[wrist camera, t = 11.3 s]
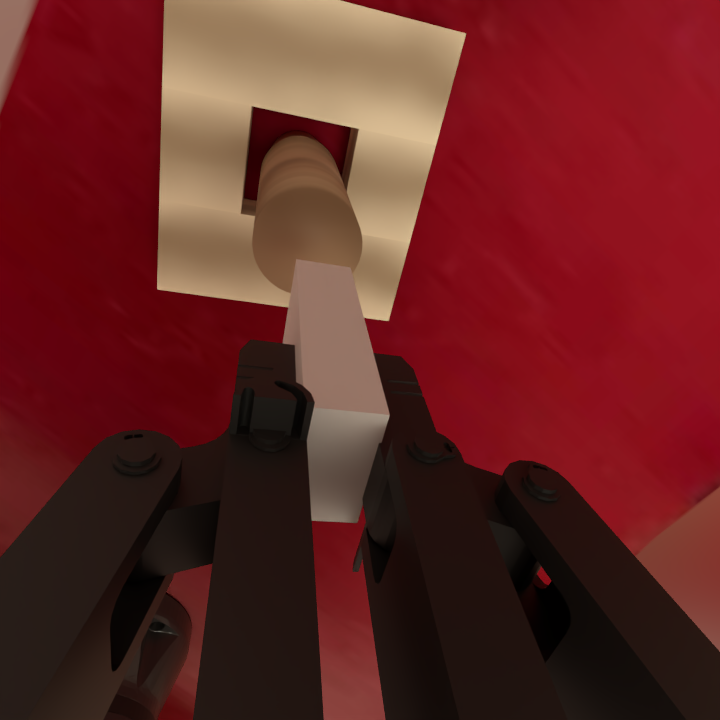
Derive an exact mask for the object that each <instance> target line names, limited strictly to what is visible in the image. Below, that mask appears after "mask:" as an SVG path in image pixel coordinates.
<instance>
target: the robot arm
mask: <svg viewBox="0 0 720 720" xmlns="http://www.w3.org/2000/svg"><path fill="white" fill-rule="evenodd" d="M362 505H363V506H364V512H365V518H366V524H365V527H364V530H363V533H362V537H361V540H360V543H359V546H358V549H357V552H356V556H355V559H354V563H353V572H358V571H359V568H360V565H361V561H362V559H363V564H364V571H365V578H366V585H367V592H368V599H369V606H370V613H371V620H372V627H373V634H374V641H375V648H376V655H377V662H378V669H379V676H380V683H381V690H382V697H383V704H384V711H385V718H386V720H720V652H719V650H718V649H717V648H716V647H715V646H714V645H713V644H712V643H711V641H710V640H709V639H708V638H707V637H706V636H705V635H704V634H703V633H702V631H701V630H700V629H699V628H698V627H697V626H696V625H695V623H694V622H693V621H692V620H691V619H690V618H689V617H688V616H687V614H686V613H685V612H684V611H683V610H682V609H681V608H680V607H679V605H678V604H677V603H676V602H675V601H674V600H673V599H672V598H671V596H670V595H669V594H668V593H667V592H666V591H665V590H664V589H663V587H662V586H661V585H660V584H659V583H658V582H657V581H656V580H655V578H653V576H652V575H651V574H650V573H649V572H648V571H647V569H646V568H645V567H644V566H643V565H642V564H641V563H640V562H639V560H637V558H636V557H635V556H634V555H633V554H632V553H631V551H630V550H629V549H628V548H627V547H626V546H625V545H624V544H623V542H622V541H621V540H620V539H619V538H618V537H617V536H616V535H615V533H614V532H613V531H612V530H611V529H610V528H609V527H608V526H607V524H606V523H605V522H604V521H603V520H602V519H601V518H600V517H599V515H598V514H597V513H596V512H595V511H594V510H593V509H592V508H591V506H590V505H589V504H588V503H587V502H586V501H585V500H584V499H583V497H582V496H581V495H580V494H579V493H578V492H577V491H576V490H575V488H574V487H573V486H572V485H571V484H570V483H569V482H568V481H567V480H566V479H565V478H564V477H562V476H561V475H560V474H559V473H558V472H556V471H554V470H553V469H551V468H549V467H547V466H545V465H543V464H539V463H536V462H533V461H522V460H519V461H516V462H513V463H510V464H509V466H508V467H507V468H506V469H505V471H504V473H503V475H502V476H501V475H498V474H495V473H492V472H489V471H486V470H483V469H479V468H476V467H474V466H471V465H469V464H466V463H464V460H463V458H462V455H461V453H460V452H459V450H458V448H457V447H456V445H455V444H454V443H453V442H451V441H450V440H449V439H448V438H446V437H445V436H444V435H441V434H439V433H437V432H436V429H435V427H434V424H433V421H432V419H431V416H430V413H429V410H428V408H427V405H426V402H425V399H424V397H422V391H421V389H420V386H418V380H417V378H416V375H415V372H414V370H413V368H412V367H411V366H410V365H409V364H408V363H407V362H406V361H405V360H404V359H403V358H402V357H401V356H392V355H384V354H376V353H373V350H372V346H371V343H370V339H369V335H368V331H367V328H366V324H365V320H364V316H363V313H362V309H361V305H360V301H359V298H358V294H357V290H356V286H355V283H354V279H353V275H352V271H351V268H350V267H344V266H337V265H331V264H324V263H318V262H312V261H305V260H299V259H296V264H295V270H294V276H293V282H292V289H291V295H290V301H289V307H288V313H287V319H286V325H285V332H284V338H283V343H274V342H266V341H258V340H250V341H249V342H248V343H247V344H246V345H245V346H244V347H243V348H242V349H241V350H240V354H239V362H238V369H237V377H236V385H235V392H234V394H233V402H232V411H231V420H230V424H229V427H228V429H227V430H226V431H225V432H224V434H222V435H221V436H220V437H218V438H217V439H215V440H213V441H211V442H208V443H206V444H203V445H198V446H194V447H187V448H181V449H180V447H179V445H178V444H177V443H175V442H174V441H173V440H172V439H171V438H170V437H168V436H166V435H163V434H161V433H158V432H156V431H147V430H132V431H124V432H120V433H118V434H115V435H112V436H110V437H107V438H105V439H104V440H103V441H102V442H100V443H99V444H98V445H97V446H95V447H94V448H93V449H92V451H91V452H90V453H89V454H88V455H87V457H86V458H85V459H84V460H83V461H82V462H81V464H80V465H79V466H78V467H77V468H76V469H75V471H74V472H73V473H72V474H71V475H70V476H69V478H68V479H67V480H66V481H65V482H64V484H63V485H62V486H61V487H60V488H59V489H58V491H57V492H56V493H55V494H54V495H53V496H52V498H51V499H50V500H49V501H48V502H47V503H46V505H45V506H44V507H43V508H42V509H41V511H40V512H39V513H38V514H37V515H36V516H35V518H34V519H33V520H32V521H31V522H30V523H29V525H28V526H27V527H26V528H25V529H24V531H23V532H22V533H21V534H20V535H19V536H18V538H17V539H16V540H15V541H14V542H13V543H12V545H11V546H10V547H9V548H8V549H7V550H6V552H5V553H4V554H3V555H2V556H1V558H0V720H157V719H158V716H159V714H160V712H161V710H162V708H163V706H164V703H165V701H166V699H167V697H168V695H169V693H170V691H171V689H172V687H173V685H174V683H175V681H176V679H177V677H178V675H179V673H180V671H181V669H182V667H183V665H184V662H185V660H186V657H187V654H188V650H189V644H190V637H191V629H192V627H191V621H190V618H189V616H188V614H187V612H186V611H185V609H184V608H183V607H182V606H181V605H180V604H179V603H178V602H177V601H175V600H174V599H173V598H171V597H170V596H168V595H166V594H165V593H166V591H167V589H168V587H169V585H170V583H171V581H172V579H173V575H174V573H176V572H180V571H184V570H188V569H192V568H196V567H200V566H204V565H208V564H212V563H213V565H212V573H211V581H210V589H209V597H208V605H207V613H206V620H205V628H204V636H203V644H202V652H201V660H200V668H199V676H198V684H197V692H196V700H195V708H194V716H193V720H324V719H323V702H322V685H321V669H320V652H319V635H318V619H317V602H316V585H315V569H314V552H313V535H312V521H330V522H348V523H357V522H358V519H359V515H360V512H361V509H362ZM541 566H542V568H543V569H544V571H545V572H546V573H547V575H548V576H549V578H550V579H551V580H552V581H551V583H550V584H549V585H546V584H544V583H543V581H542V580H541V579H540V578H539V577H538V575H537V573H538V571H539V569H540V567H541Z"/></svg>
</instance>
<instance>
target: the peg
mask: <svg viewBox="0 0 720 720" xmlns="http://www.w3.org/2000/svg"><path fill="white" fill-rule="evenodd" d="M362 243H363V241H362V233H361V229H360V226H359V223H358V221H357V218H356V216H355V213H354V210H353V208H352V205H351V202H350V200H349V197H348V194H347V192H346V189H345V187H344V184H343V181H342V179H341V176H340V173H339V171H338V168H337V166H336V163H335V161H334V158H333V157H332V155H331V153H330V152H329V151H328V150H327V149H326V148H325V147H324V146H323V145H322V144H321V143H319V142H318V140H317V139H316V138H314V137H313V136H312V135H310V134H308V133H306V132H303V131H290V132H287V133H284V134H283V135H281V136H280V137H279V138H278V139H277V140H276V141H275V142H274V144H273V146H272V147H271V149H270V150H269V151H268V152H267V154H266V155H265V157H264V159H263V162H262V166H261V172H260V180H259V188H258V196H257V204H256V212H255V220H254V229H253V237H252V248H253V254H254V258H255V261H256V263H257V265H258V267H259V269H260V271H261V272H262V274H263V275H264V276H265V277H266V278H267V279H268V280H269V281H270V282H271V283H272V284H273V285H275V286H276V287H278V288H279V289H281V290H283V291H286V292H288V293H291V289H292V282H293V276H294V270H295V264H296V259H299V260H305V261H312V262H318V263H324V264H331V265H337V266H344V267H350V268H351V271H352V274H353V272H354V271H355V269H356V267H357V265H358V263H359V261H360V257H361V254H362Z"/></svg>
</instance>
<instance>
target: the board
mask: <svg viewBox="0 0 720 720" xmlns="http://www.w3.org/2000/svg"><path fill="white" fill-rule="evenodd" d="M465 36H466V33H462V32H458V31H455V30H451V29H447V28H443V27H439V26H436V25H432V24H428V23H424V22H420V21H417V20H413V19H409V18H405V17H401V16H398V15H394V14H390V13H386V12H383V11H379V10H375V9H371V8H367V7H364V6H360V5H356V4H352V3H348V2H345V1H341V0H164V34H163V74H162V113H161V153H160V192H159V232H158V272H157V289H158V290H165V291H172V292H180V293H187V294H194V295H202V296H209V297H216V298H224V299H231V300H238V301H245V302H253V303H260V304H267V305H275V306H282V307H289V301H290V295H291V293H288V292H286V291H283V290H281V289H279V288H278V287H276V286H275V285H273V284H272V283H271V282H270V281H269V280H268V279H267V278H266V277H265V276H264V275H263V274H262V272H261V271H260V269H259V267H258V265H257V263H256V261H255V258H254V254H253V248H252V237H253V229H254V220H255V212H256V204H257V201H255V200H249V199H244V192H245V183H246V173H247V163H248V154H249V144H250V135H251V125H252V115H253V106H254V107H258V108H263V109H268V110H272V111H277V112H282V113H286V114H291V115H296V116H301V117H305V118H310V119H315V120H319V121H324V122H329V123H333V124H338V125H343V126H347V127H351V131H350V136H349V141H348V147H347V152H346V157H345V162H344V168H343V173H342V178H341V179H342V181H343V184H344V187H345V189H346V192H347V194H348V197H349V200H350V202H351V205H352V208H353V210H354V213H355V216H356V218H357V221H358V223H359V226H360V229H361V233H362V241H363V243H362V254H361V257H360V261H359V263H358V265H357V267H356V269H355V271H354V272H353V274H352V275H353V279H354V283H355V286H356V290H357V294H358V298H359V301H360V305H361V309H362V313H363V316H364V318H370V319H377V320H384V321H389V317H390V314H391V310H392V306H393V303H394V299H395V295H396V291H397V288H398V284H399V280H400V277H401V273H402V269H403V266H404V262H405V258H406V254H407V251H408V247H409V243H410V240H411V236H412V232H413V229H414V225H415V221H416V217H417V214H418V210H419V206H420V203H421V199H422V195H423V192H424V188H425V184H426V180H427V177H428V173H429V169H430V166H431V162H432V158H433V155H434V151H435V147H436V143H437V140H438V136H439V132H440V129H441V125H442V121H443V117H444V114H445V110H446V106H447V103H448V99H449V95H450V92H451V88H452V84H453V80H454V77H455V73H456V69H457V66H458V62H459V58H460V55H461V51H462V47H463V43H464V40H465Z"/></svg>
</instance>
